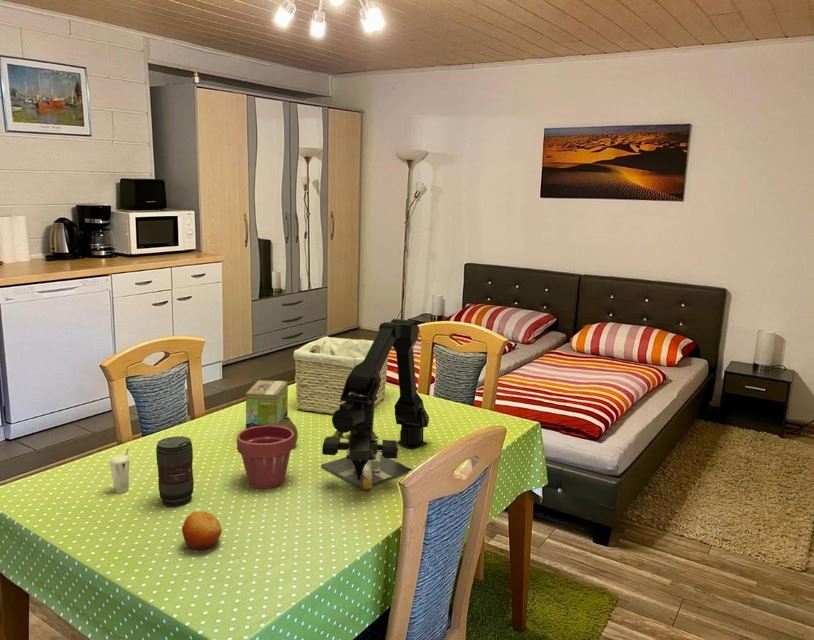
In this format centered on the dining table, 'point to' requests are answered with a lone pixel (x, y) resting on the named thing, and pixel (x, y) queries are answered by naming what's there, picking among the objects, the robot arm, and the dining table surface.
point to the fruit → (201, 530)
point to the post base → (345, 472)
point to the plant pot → (265, 454)
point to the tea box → (266, 403)
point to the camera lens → (175, 470)
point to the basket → (329, 372)
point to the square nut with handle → (370, 466)
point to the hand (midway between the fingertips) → (358, 479)
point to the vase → (289, 426)
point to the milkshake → (120, 472)
